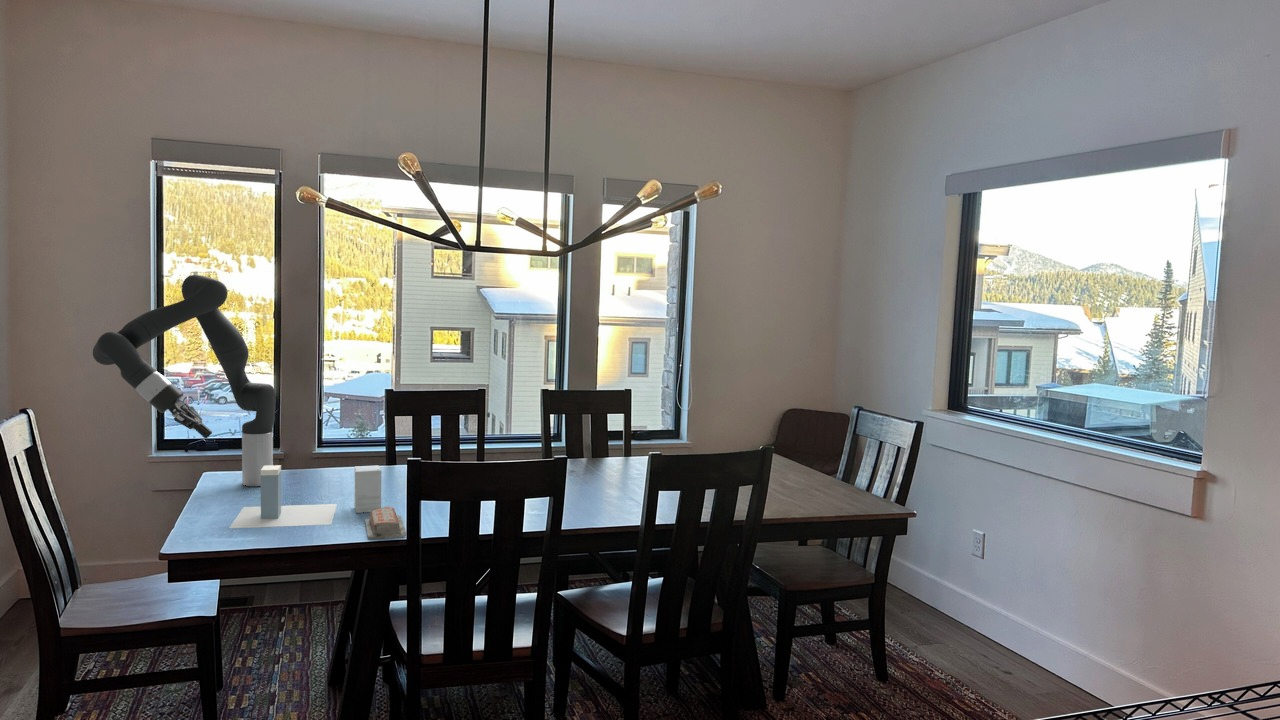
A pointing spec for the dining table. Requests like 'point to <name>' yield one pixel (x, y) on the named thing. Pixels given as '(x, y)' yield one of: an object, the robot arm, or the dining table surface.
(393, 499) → the dining table surface
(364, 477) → the supplement box
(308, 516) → the mat
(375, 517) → the packaged product
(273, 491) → the block
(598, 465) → the dining table surface
